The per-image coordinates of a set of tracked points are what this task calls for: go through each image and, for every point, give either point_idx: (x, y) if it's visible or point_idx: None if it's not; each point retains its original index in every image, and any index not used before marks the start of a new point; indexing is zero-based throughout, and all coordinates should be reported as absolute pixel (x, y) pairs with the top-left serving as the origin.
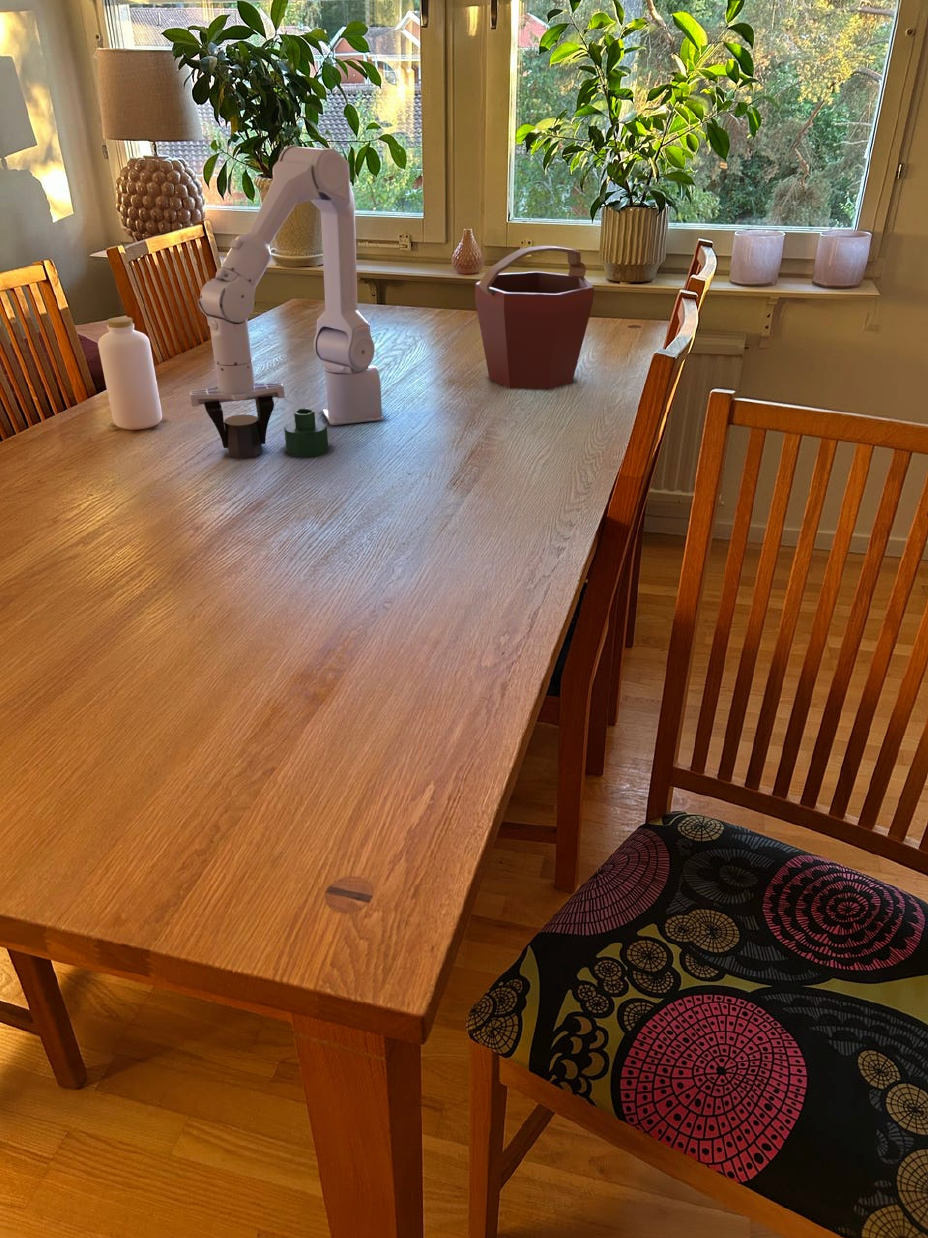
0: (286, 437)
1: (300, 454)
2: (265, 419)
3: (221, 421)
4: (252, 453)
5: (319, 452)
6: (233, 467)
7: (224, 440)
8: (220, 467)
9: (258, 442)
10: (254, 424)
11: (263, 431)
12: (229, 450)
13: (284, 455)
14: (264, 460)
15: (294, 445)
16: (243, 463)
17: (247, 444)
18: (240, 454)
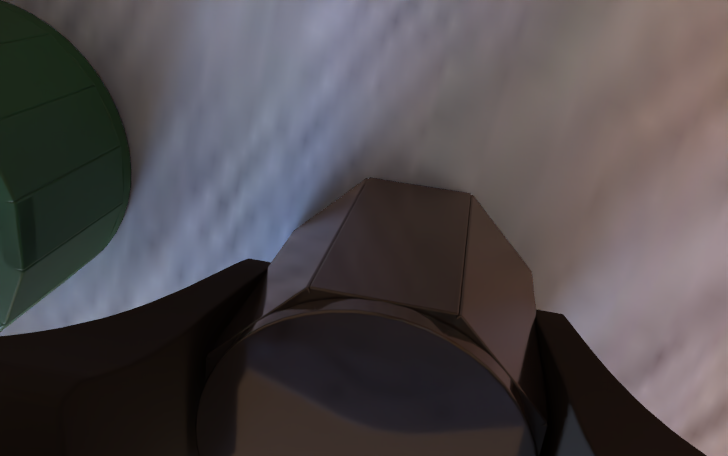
0: (56, 170)
1: (38, 25)
2: (123, 325)
3: (610, 434)
4: (372, 187)
5: None
6: (579, 37)
7: (566, 336)
8: (677, 85)
9: (292, 249)
10: (256, 319)
11: (209, 290)
12: (528, 286)
13: (158, 113)
14: (312, 79)
15: (32, 73)
16: (477, 89)
17: (390, 220)
18: (464, 204)
